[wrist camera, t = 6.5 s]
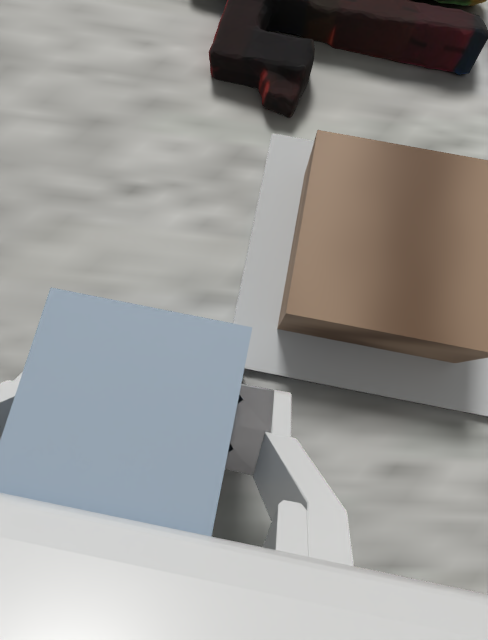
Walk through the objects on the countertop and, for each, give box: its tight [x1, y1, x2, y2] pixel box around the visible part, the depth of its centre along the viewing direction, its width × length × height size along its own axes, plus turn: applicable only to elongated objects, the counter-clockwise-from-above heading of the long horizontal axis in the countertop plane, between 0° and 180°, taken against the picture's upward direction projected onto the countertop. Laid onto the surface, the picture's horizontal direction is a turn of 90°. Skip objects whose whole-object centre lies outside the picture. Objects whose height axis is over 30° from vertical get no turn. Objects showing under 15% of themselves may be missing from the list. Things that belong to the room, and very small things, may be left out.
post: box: [0, 288, 252, 536], centre depth 11 cm, size 4×4×9 cm
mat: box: [233, 133, 488, 417], centre depth 17 cm, size 12×12×1 cm
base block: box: [277, 130, 488, 363], centre depth 15 cm, size 8×8×3 cm
